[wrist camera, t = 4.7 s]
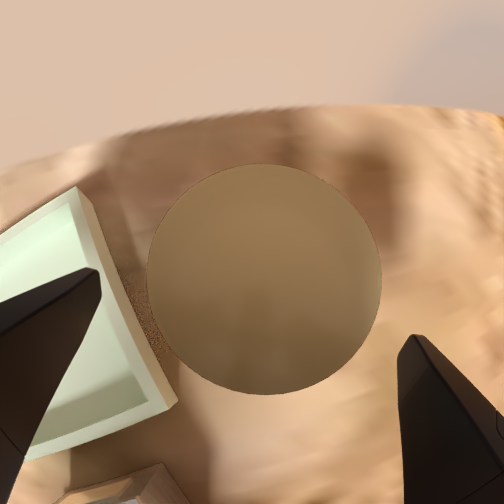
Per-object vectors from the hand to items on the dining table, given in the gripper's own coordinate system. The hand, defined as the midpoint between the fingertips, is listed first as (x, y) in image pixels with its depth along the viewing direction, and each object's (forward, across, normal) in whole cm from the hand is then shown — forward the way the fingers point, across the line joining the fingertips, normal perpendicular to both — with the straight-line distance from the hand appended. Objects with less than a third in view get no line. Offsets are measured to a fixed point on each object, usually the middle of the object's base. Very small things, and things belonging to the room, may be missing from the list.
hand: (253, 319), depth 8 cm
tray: (+3, +11, +8) cm, 15 cm away
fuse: (+6, 0, +5) cm, 8 cm away
